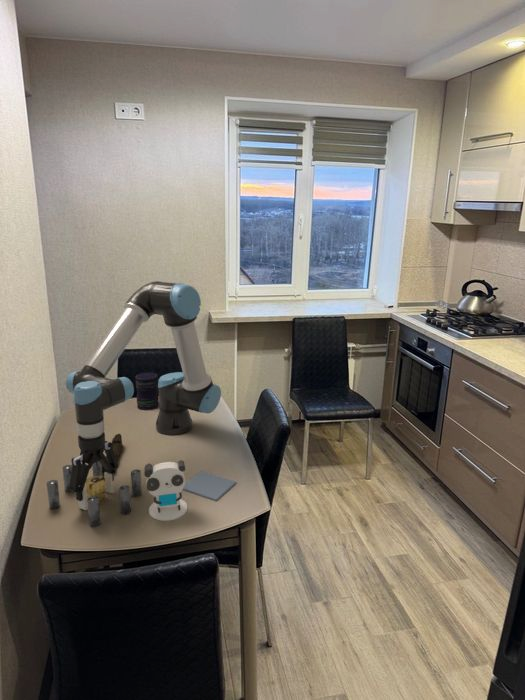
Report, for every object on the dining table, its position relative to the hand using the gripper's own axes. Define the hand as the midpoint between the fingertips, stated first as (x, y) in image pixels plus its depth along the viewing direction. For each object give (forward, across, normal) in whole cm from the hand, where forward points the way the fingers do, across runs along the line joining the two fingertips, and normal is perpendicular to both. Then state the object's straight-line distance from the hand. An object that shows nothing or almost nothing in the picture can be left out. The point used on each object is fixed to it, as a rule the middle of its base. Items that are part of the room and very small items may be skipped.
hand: (96, 499), depth 146 cm
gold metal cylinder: (0, 0, 0) cm, 0 cm away
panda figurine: (0, -7, +22) cm, 23 cm away
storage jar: (0, -66, -38) cm, 76 cm away
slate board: (0, -24, +25) cm, 35 cm away
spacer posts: (0, 0, 0) cm, 0 cm away
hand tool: (+1, -22, -16) cm, 27 cm away
